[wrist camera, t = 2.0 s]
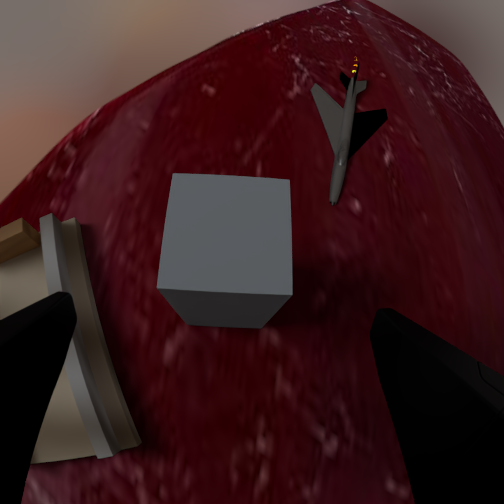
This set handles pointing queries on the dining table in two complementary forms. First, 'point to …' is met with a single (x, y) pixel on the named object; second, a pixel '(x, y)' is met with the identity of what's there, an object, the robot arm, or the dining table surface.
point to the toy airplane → (345, 126)
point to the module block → (227, 249)
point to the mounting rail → (81, 347)
